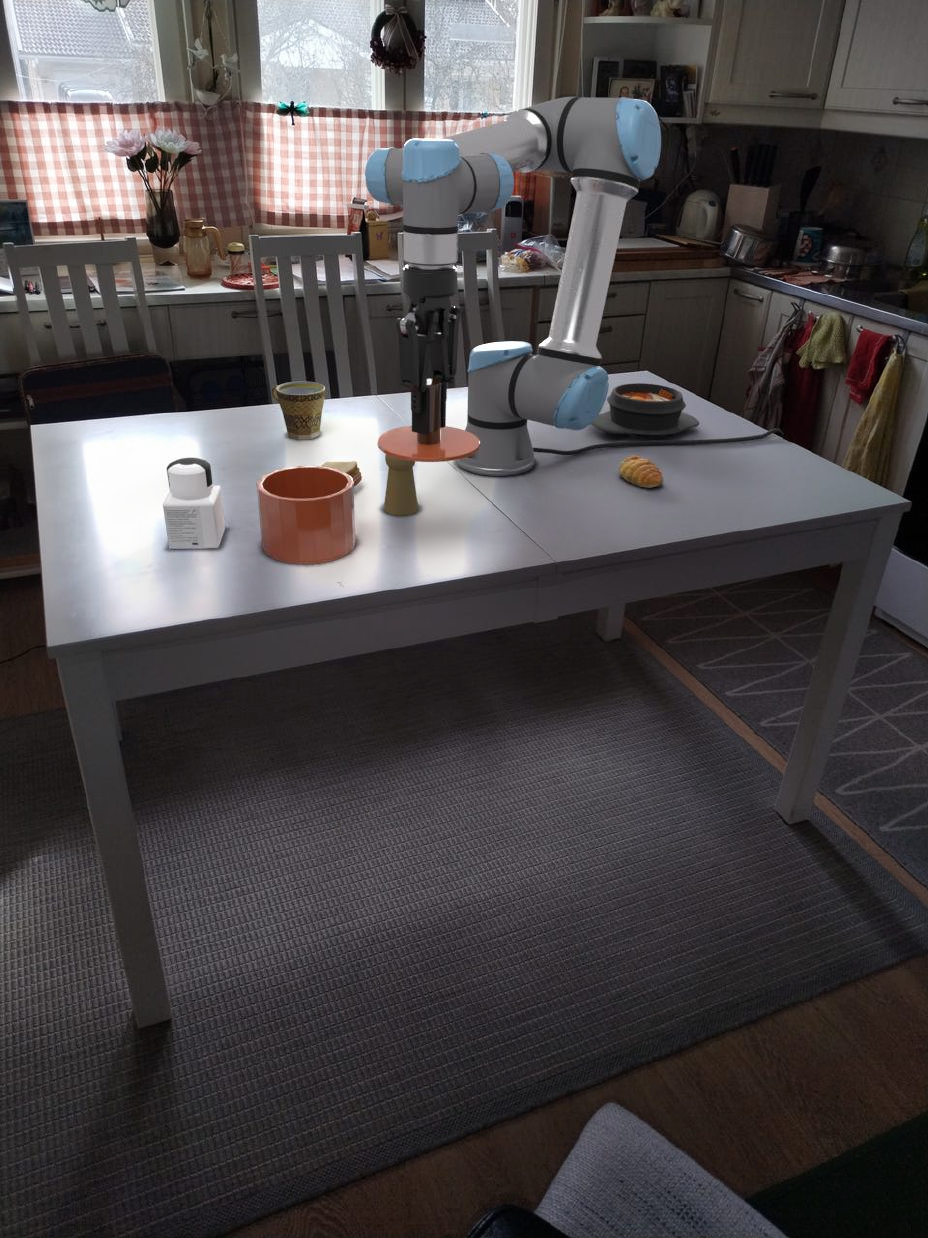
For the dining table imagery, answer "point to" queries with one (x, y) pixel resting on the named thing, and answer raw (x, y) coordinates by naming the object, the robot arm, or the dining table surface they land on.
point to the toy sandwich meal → (346, 469)
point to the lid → (429, 437)
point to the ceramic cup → (301, 408)
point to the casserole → (645, 411)
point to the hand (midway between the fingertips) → (428, 428)
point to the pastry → (640, 472)
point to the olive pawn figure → (400, 487)
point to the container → (193, 506)
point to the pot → (306, 514)
